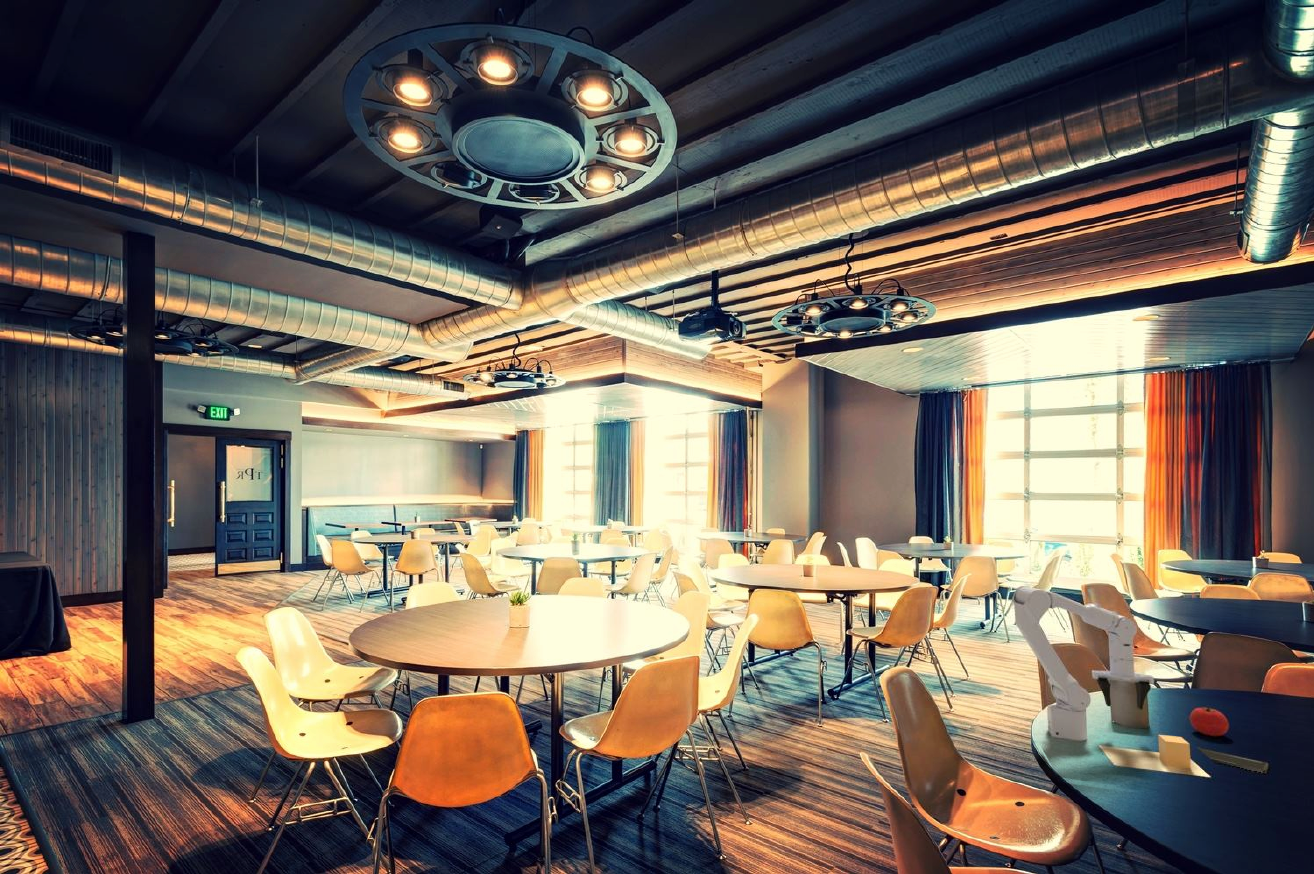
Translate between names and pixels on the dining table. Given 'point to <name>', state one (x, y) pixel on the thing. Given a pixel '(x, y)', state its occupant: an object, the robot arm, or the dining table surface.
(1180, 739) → the tan foam cube
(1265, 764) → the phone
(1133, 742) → the dining table surface
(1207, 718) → the tomato
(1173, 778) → the dining table surface
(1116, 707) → the pillar candle
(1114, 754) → the board
